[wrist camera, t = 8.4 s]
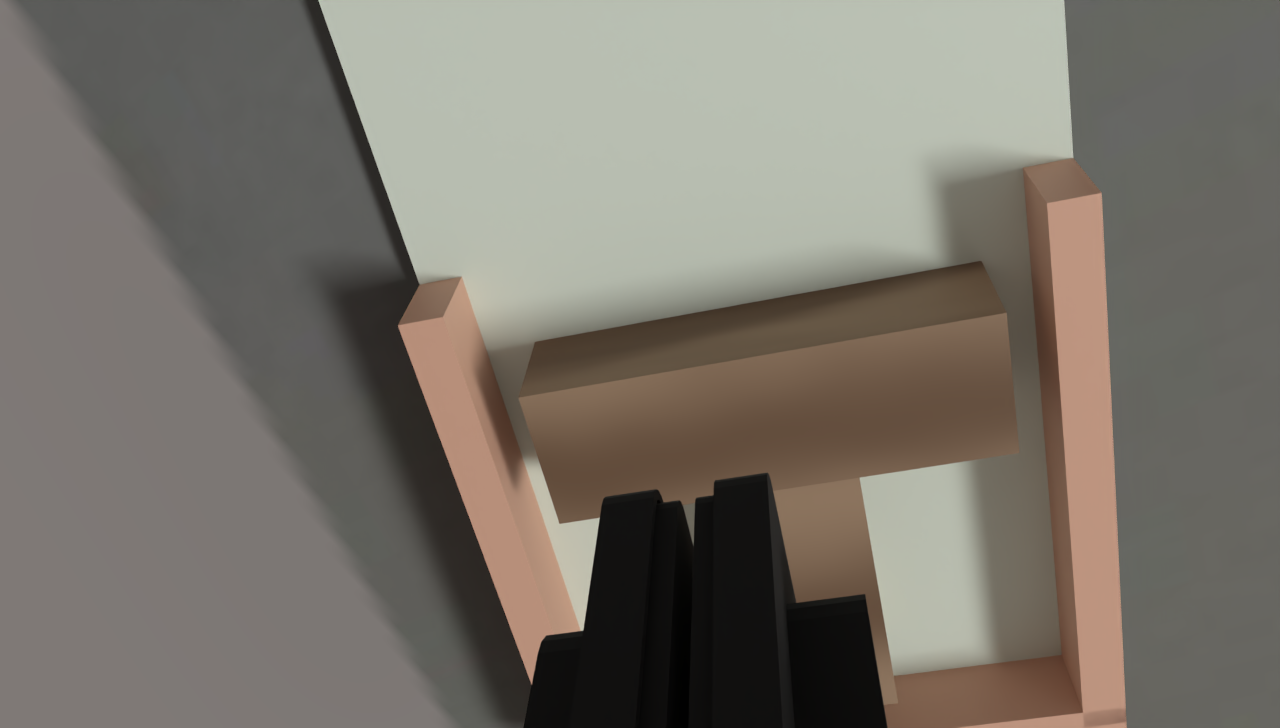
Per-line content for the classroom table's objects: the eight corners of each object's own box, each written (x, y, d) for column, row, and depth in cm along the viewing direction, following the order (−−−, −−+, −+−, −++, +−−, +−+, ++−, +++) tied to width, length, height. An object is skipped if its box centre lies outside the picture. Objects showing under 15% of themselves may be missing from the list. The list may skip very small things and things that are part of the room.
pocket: (419, 284, 31) (397, 325, 29) (1073, 158, 28) (1101, 193, 26) (582, 741, 39) (574, 799, 37) (1103, 678, 36) (1126, 737, 34)
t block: (534, 341, 32) (517, 397, 29) (981, 260, 30) (1006, 312, 27) (635, 664, 37) (629, 735, 34) (1017, 614, 35) (1040, 685, 33)
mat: (289, -108, 27) (280, -105, 26) (1039, -301, 24) (1046, -302, 24) (588, 740, 40) (586, 754, 39) (1098, 678, 37) (1104, 692, 36)
